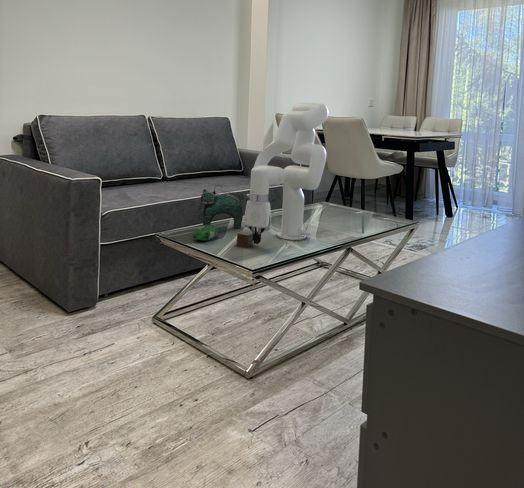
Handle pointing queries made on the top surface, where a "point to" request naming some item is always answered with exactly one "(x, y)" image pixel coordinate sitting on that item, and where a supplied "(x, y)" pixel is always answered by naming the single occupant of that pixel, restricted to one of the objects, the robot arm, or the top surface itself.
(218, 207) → the ceramic cat
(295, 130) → the robot arm
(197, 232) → the snack package
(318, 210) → the top surface
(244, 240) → the walnut block
